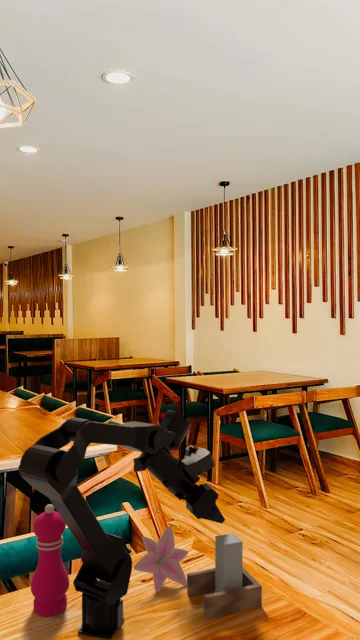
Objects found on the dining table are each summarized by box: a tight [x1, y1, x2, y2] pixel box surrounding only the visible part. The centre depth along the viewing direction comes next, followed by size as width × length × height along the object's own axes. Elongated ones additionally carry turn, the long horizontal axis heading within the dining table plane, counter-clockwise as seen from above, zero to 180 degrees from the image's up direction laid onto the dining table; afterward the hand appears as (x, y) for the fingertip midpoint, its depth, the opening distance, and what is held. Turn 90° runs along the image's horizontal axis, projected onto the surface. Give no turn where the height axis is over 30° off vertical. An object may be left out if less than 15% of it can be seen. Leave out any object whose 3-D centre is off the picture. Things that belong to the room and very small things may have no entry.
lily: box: [133, 525, 189, 592], centre depth 111 cm, size 12×12×10 cm
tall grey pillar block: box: [214, 532, 243, 593], centre depth 104 cm, size 4×4×12 cm
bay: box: [186, 566, 263, 620], centre depth 104 cm, size 12×10×4 cm
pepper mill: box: [30, 503, 70, 617], centre depth 101 cm, size 7×7×20 cm
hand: (214, 513), depth 113 cm, fingers open, 9 cm apart
